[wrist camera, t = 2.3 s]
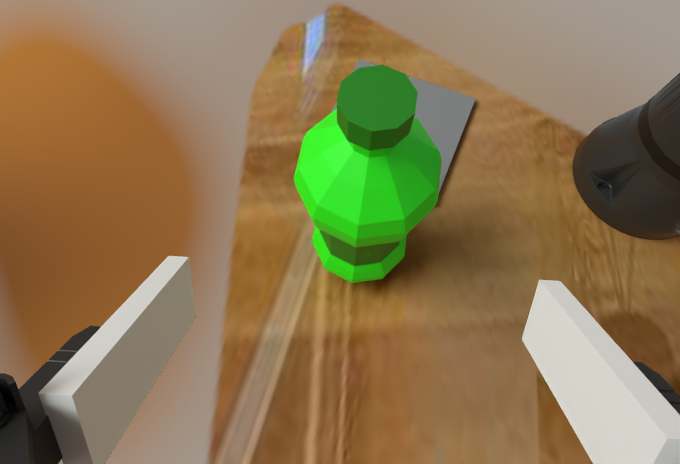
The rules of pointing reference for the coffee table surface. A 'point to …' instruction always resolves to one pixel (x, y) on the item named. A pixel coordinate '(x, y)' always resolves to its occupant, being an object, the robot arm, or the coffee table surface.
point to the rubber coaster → (438, 115)
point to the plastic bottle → (368, 175)
